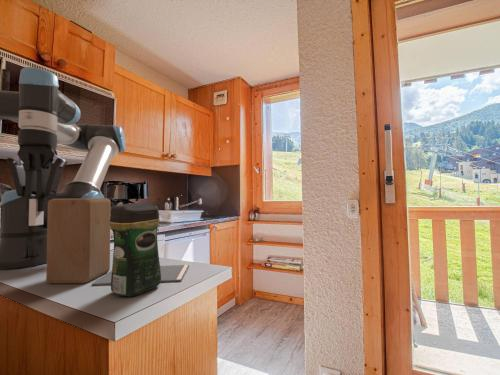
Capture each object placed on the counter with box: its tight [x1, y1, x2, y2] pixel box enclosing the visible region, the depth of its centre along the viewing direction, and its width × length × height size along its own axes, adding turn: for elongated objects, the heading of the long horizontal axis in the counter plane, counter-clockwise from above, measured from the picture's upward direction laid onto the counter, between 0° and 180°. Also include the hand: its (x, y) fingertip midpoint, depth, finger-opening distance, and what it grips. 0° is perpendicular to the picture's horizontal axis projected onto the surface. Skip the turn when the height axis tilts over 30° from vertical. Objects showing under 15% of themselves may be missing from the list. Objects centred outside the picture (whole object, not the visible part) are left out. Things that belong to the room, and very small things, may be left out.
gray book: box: [91, 264, 190, 287], centre depth 64 cm, size 13×20×1 cm, turn 96°
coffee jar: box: [110, 202, 162, 297], centre depth 53 cm, size 10×8×19 cm
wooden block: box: [45, 197, 112, 284], centre depth 62 cm, size 10×10×20 cm
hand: (36, 225), depth 61 cm, fingers closed
